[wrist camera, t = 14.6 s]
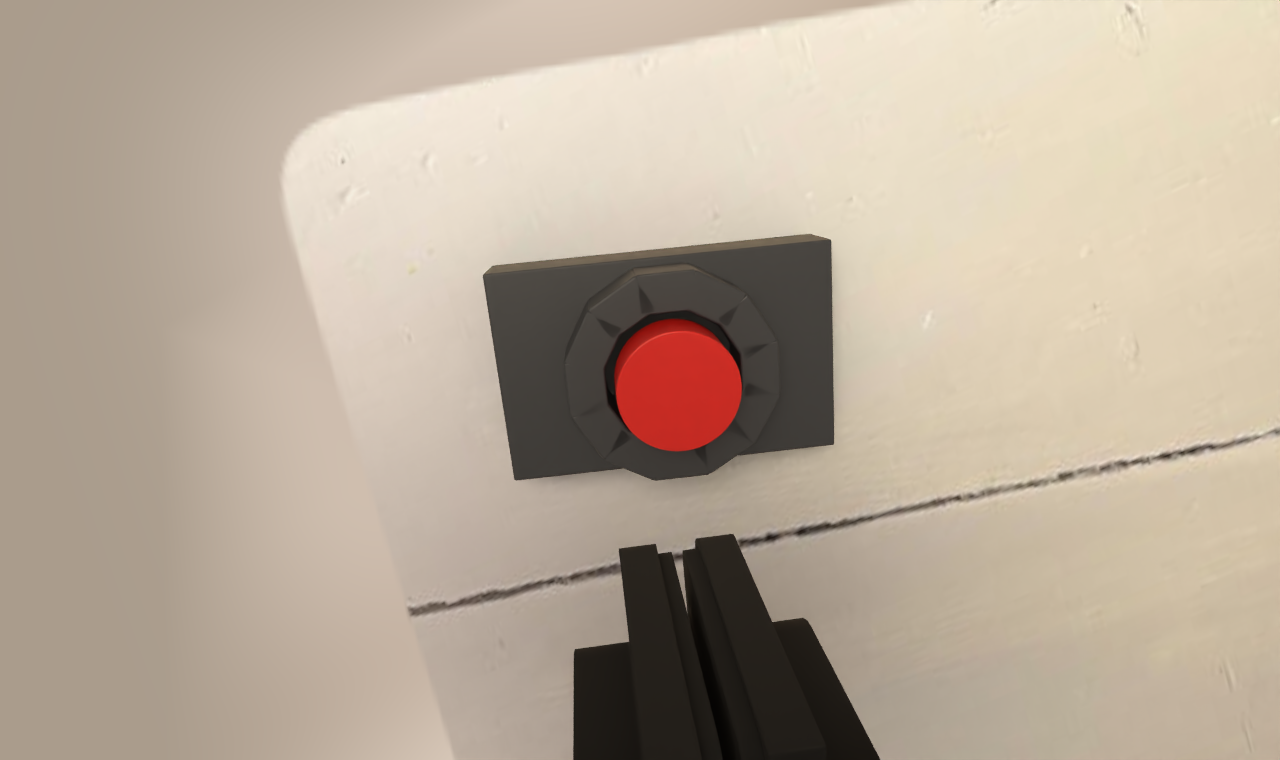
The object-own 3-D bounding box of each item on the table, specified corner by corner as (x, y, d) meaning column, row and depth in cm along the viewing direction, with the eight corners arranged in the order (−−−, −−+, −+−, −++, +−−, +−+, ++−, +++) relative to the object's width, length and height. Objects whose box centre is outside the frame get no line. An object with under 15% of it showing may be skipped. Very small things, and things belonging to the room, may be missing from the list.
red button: (620, 437, 22) (622, 458, 20) (608, 324, 21) (609, 337, 19) (733, 424, 22) (745, 444, 21) (727, 312, 21) (739, 324, 20)
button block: (520, 456, 26) (508, 505, 22) (491, 265, 24) (473, 282, 20) (815, 423, 26) (853, 466, 23) (810, 233, 24) (852, 244, 21)
